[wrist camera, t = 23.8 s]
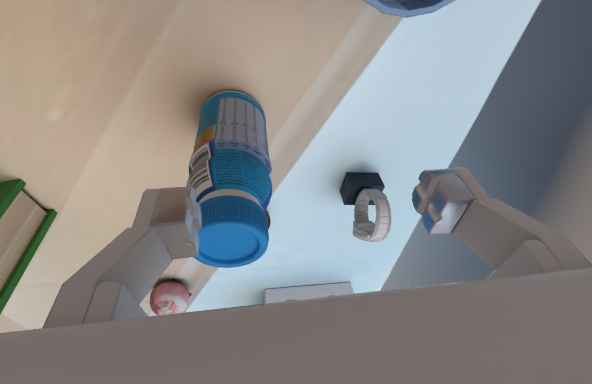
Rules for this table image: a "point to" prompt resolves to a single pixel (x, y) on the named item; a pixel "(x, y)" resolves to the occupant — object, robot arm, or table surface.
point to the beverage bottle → (231, 180)
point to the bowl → (408, 6)
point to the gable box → (307, 292)
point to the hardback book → (18, 234)
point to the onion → (169, 298)
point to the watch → (361, 194)
